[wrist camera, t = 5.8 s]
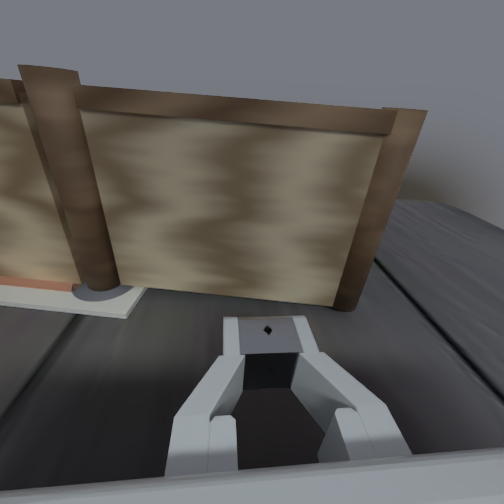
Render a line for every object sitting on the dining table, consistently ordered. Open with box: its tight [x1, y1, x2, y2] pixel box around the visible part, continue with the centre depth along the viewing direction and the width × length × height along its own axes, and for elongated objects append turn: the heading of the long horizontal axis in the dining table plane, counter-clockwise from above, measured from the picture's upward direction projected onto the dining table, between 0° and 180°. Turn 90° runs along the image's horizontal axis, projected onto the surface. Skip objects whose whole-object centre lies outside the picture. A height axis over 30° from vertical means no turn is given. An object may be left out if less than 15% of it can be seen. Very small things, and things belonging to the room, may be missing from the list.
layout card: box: [0, 276, 148, 319], centre depth 26 cm, size 22×22×1 cm
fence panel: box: [71, 84, 428, 312], centre depth 16 cm, size 17×2×12 cm, turn 86°
